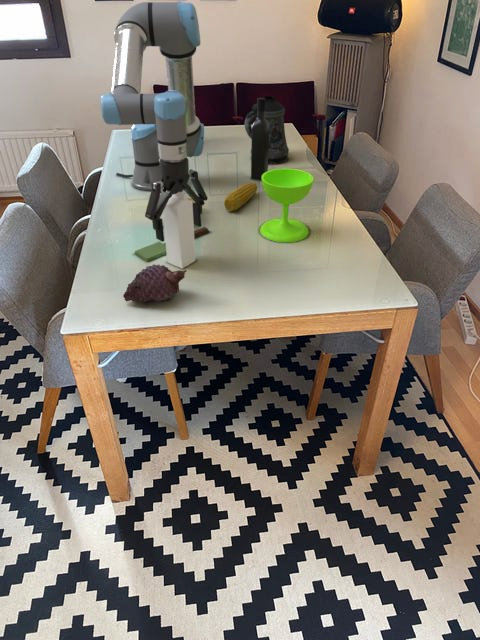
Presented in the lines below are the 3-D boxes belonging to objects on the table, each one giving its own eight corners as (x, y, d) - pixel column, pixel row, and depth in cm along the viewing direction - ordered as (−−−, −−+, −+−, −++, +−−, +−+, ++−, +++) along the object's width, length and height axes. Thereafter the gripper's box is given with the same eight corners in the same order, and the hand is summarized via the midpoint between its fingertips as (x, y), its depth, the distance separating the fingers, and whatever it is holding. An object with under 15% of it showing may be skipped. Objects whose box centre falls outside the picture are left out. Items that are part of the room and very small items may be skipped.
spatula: (147, 261, 152) (146, 257, 151) (135, 253, 156) (134, 249, 155) (212, 234, 166) (212, 230, 165) (200, 228, 170) (200, 224, 169)
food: (236, 215, 178) (236, 198, 174) (221, 212, 180) (221, 196, 176) (260, 193, 193) (260, 177, 190) (246, 190, 195) (246, 175, 192)
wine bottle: (250, 179, 205) (251, 99, 187) (255, 174, 209) (256, 95, 191) (263, 181, 203) (265, 100, 185) (268, 176, 207) (271, 97, 190)
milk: (180, 254, 156) (175, 184, 143) (196, 260, 153) (192, 189, 140) (166, 262, 152) (160, 191, 139) (182, 269, 149) (177, 196, 136)
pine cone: (130, 316, 130) (113, 280, 128) (132, 312, 139) (117, 278, 138) (195, 289, 131) (179, 253, 129) (192, 287, 141) (178, 253, 139)
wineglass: (275, 246, 160) (278, 191, 149) (251, 226, 171) (252, 173, 160) (318, 235, 166) (323, 181, 155) (292, 216, 177) (295, 165, 166)
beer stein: (294, 156, 227) (298, 96, 212) (273, 169, 213) (275, 106, 199) (262, 149, 234) (264, 90, 219) (239, 162, 221) (239, 100, 206)
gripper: (142, 173, 125) (151, 251, 138) (218, 150, 138) (220, 223, 151) (125, 165, 129) (135, 241, 142) (201, 144, 143) (204, 215, 155)
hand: (179, 232), depth 147 cm, fingers open, 12 cm apart
